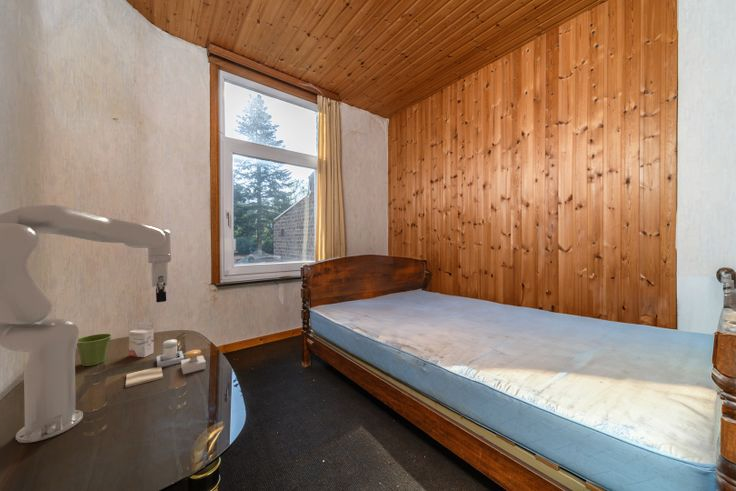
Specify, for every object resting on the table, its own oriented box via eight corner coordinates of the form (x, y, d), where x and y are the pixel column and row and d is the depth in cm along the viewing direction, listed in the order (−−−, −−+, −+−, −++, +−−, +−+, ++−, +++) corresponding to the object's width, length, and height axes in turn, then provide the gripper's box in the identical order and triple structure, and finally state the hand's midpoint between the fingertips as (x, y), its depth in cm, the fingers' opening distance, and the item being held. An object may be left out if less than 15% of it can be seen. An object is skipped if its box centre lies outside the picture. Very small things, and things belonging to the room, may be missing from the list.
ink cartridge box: (128, 356, 125) (127, 325, 125) (138, 352, 130) (137, 322, 130) (144, 357, 125) (144, 326, 124) (154, 353, 129) (154, 322, 129)
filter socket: (184, 361, 120) (184, 357, 120) (157, 368, 114) (157, 363, 114) (181, 354, 128) (181, 350, 128) (156, 360, 121) (156, 356, 121)
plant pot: (117, 360, 121) (117, 335, 121) (81, 371, 111) (81, 344, 111) (105, 355, 126) (104, 331, 126) (69, 365, 116) (68, 339, 115)
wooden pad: (162, 378, 106) (162, 376, 106) (125, 387, 99) (125, 385, 99) (161, 367, 114) (161, 366, 114) (126, 376, 107) (126, 374, 107)
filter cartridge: (177, 361, 121) (177, 341, 120) (163, 364, 117) (163, 344, 117) (176, 357, 125) (176, 338, 124) (162, 360, 121) (162, 341, 121)
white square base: (205, 368, 114) (205, 361, 114) (183, 374, 109) (183, 367, 109) (202, 361, 120) (202, 355, 120) (180, 367, 115) (180, 360, 115)
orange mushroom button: (202, 362, 114) (201, 352, 114) (186, 366, 111) (186, 356, 111) (199, 358, 119) (199, 348, 119) (184, 361, 115) (184, 351, 115)
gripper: (148, 257, 116) (149, 296, 117) (147, 261, 103) (149, 305, 103) (169, 256, 121) (170, 294, 121) (172, 260, 107) (173, 302, 108)
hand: (161, 299), depth 112 cm, fingers open, 9 cm apart
